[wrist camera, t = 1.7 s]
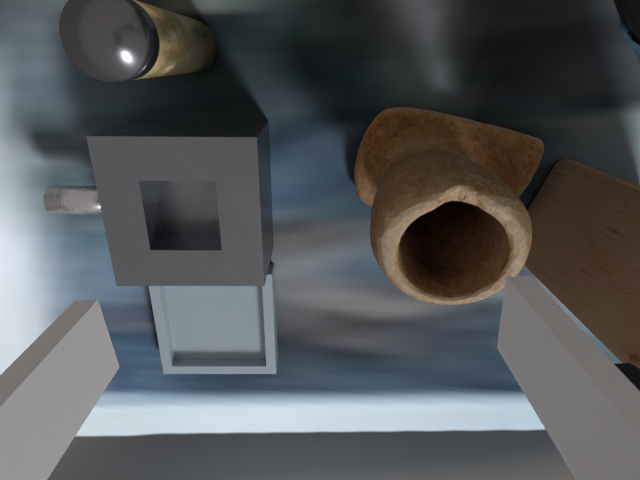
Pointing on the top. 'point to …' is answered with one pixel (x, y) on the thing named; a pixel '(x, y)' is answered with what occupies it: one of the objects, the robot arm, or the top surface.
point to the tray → (217, 328)
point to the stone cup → (446, 202)
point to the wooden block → (591, 251)
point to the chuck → (180, 201)
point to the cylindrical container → (133, 40)
